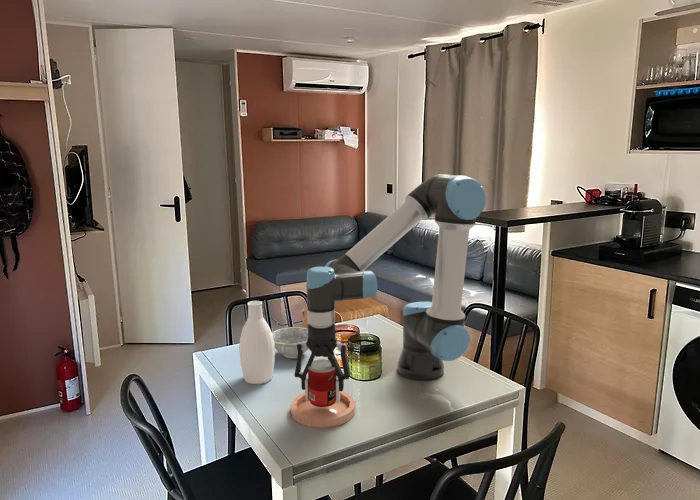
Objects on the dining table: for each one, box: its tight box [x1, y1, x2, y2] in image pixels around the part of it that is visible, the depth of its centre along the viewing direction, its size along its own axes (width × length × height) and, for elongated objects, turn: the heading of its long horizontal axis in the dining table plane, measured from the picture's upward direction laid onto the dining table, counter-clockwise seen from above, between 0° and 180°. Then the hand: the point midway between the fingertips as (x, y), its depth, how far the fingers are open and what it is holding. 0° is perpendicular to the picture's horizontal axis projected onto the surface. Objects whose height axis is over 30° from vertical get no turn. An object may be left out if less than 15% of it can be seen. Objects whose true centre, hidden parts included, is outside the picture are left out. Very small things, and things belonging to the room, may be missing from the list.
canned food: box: [307, 358, 337, 407], centre depth 150 cm, size 8×8×11 cm
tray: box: [290, 390, 357, 429], centre depth 151 cm, size 18×18×2 cm
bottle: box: [238, 300, 275, 385], centre depth 170 cm, size 11×11×25 cm
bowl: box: [271, 326, 309, 359], centre depth 190 cm, size 16×16×8 cm
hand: (322, 400), depth 151 cm, fingers closed on canned food, 8 cm apart
